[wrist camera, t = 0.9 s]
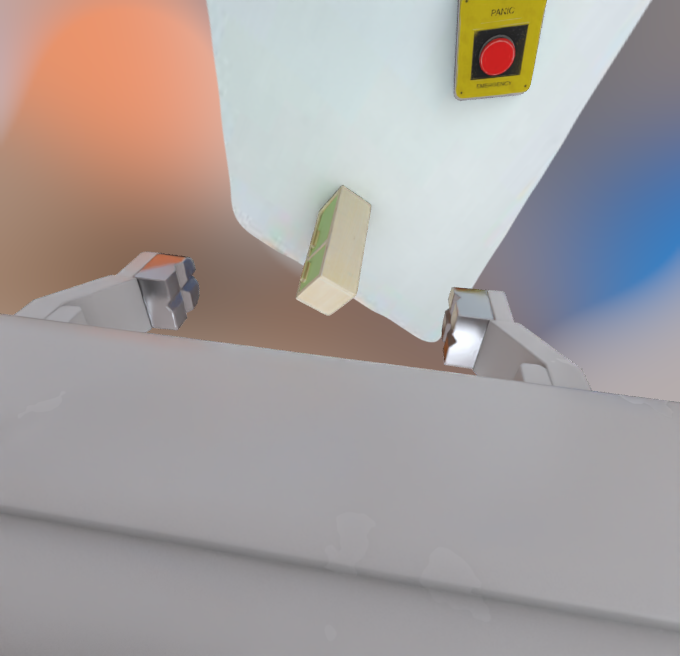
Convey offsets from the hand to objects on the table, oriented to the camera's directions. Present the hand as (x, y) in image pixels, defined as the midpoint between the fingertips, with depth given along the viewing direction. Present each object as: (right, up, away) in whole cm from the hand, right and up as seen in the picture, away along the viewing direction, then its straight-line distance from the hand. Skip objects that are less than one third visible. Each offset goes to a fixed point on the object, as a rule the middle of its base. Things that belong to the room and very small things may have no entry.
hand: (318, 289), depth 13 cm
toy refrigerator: (+1, +21, +62) cm, 65 cm away
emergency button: (+19, +34, +36) cm, 54 cm away
